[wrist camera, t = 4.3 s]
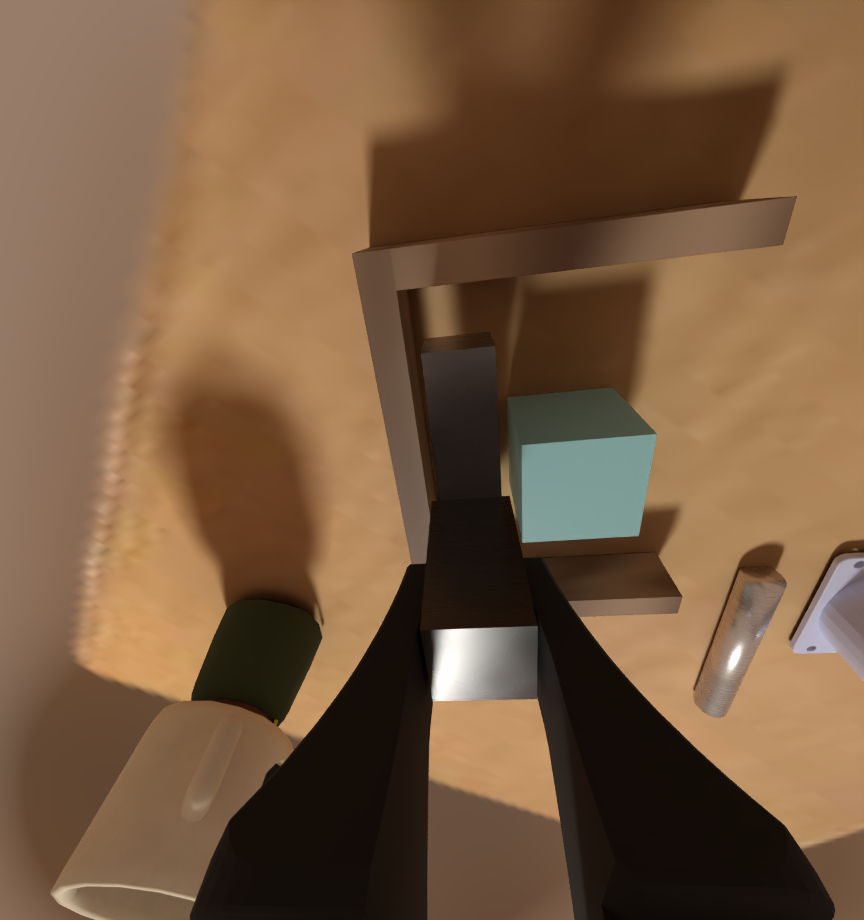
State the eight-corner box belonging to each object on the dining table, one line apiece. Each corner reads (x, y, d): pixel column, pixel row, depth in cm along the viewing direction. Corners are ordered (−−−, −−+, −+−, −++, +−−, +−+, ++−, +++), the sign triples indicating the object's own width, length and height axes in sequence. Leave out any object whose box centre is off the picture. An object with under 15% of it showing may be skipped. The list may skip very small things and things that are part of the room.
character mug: (305, 679, 30) (216, 954, 19) (207, 649, 29) (50, 926, 17) (356, 589, 25) (275, 896, 14) (240, 547, 23) (44, 850, 12)
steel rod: (730, 571, 22) (769, 597, 21) (755, 558, 23) (795, 583, 21) (686, 695, 28) (713, 722, 27) (707, 682, 29) (735, 709, 27)
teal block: (612, 386, 18) (656, 433, 14) (602, 474, 20) (638, 535, 16) (506, 396, 18) (521, 445, 14) (509, 481, 20) (522, 542, 16)
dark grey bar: (497, 331, 12) (539, 415, 6) (508, 608, 18) (536, 798, 12) (417, 339, 13) (382, 428, 7) (452, 610, 18) (450, 798, 12)
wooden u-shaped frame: (733, 200, 14) (796, 196, 11) (652, 568, 23) (677, 613, 20) (369, 247, 15) (351, 253, 13) (426, 578, 24) (422, 622, 21)
